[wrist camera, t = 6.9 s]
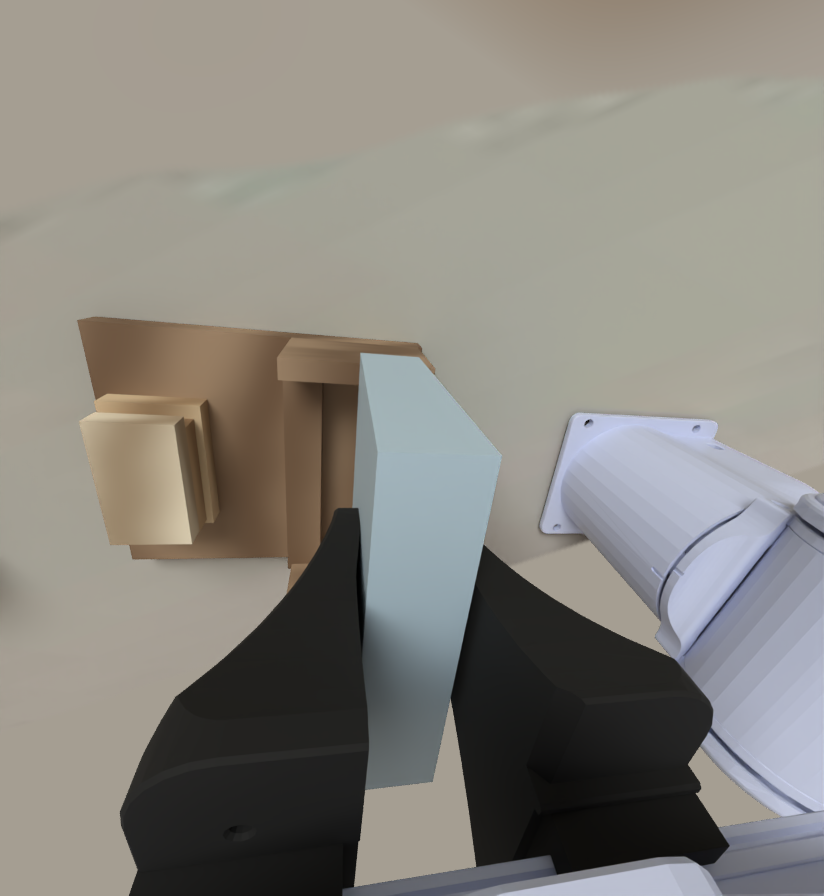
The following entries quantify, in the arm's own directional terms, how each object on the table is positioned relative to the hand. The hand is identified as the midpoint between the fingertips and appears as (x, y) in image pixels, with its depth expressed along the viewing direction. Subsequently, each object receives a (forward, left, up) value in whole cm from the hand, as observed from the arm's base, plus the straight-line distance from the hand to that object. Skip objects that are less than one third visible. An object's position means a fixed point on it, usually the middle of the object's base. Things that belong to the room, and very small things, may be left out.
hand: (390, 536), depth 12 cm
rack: (+5, +2, -10) cm, 11 cm away
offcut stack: (+10, +2, -9) cm, 13 cm away
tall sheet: (0, 0, -4) cm, 4 cm away
